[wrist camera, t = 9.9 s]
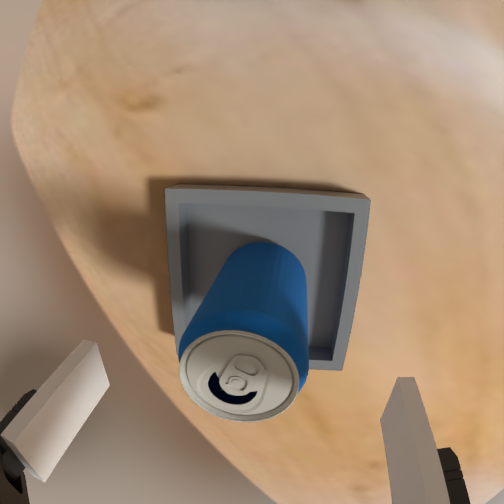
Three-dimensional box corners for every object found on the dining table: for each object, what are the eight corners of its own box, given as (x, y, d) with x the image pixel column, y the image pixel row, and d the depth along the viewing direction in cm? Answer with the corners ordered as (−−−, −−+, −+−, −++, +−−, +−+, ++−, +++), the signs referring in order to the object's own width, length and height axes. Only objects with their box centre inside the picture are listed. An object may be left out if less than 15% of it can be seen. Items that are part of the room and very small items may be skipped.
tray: (177, 184, 24) (164, 188, 22) (363, 193, 23) (370, 199, 20) (185, 338, 29) (176, 354, 27) (339, 353, 27) (342, 370, 25)
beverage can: (210, 292, 26) (154, 392, 15) (245, 223, 24) (198, 297, 13) (281, 327, 26) (266, 441, 15) (321, 263, 24) (337, 364, 13)
